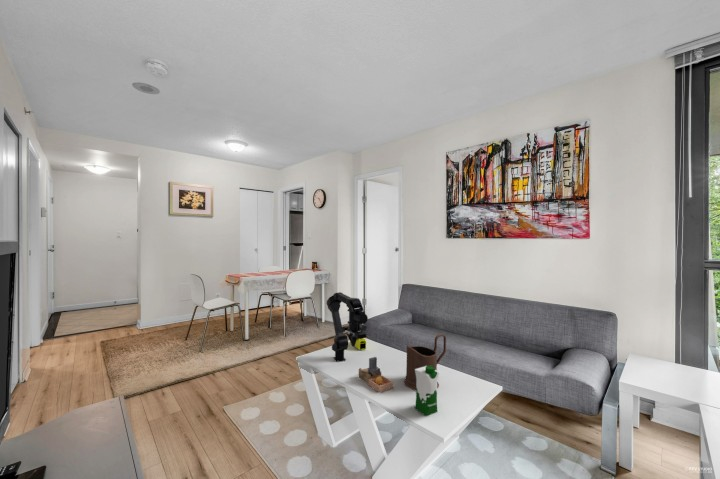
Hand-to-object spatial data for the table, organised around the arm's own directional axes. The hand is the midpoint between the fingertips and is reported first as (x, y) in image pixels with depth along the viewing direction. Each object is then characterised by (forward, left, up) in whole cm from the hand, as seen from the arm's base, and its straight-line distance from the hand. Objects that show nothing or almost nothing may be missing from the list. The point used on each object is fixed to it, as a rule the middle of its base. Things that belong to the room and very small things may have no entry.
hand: (353, 346), depth 186 cm
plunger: (+20, +5, -9) cm, 22 cm away
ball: (+24, +7, -11) cm, 27 cm away
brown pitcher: (+28, +32, -13) cm, 45 cm away
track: (+16, +4, -13) cm, 21 cm away
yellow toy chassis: (-34, +14, -13) cm, 40 cm away
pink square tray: (+26, +7, -13) cm, 30 cm away
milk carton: (+52, +18, -13) cm, 57 cm away
